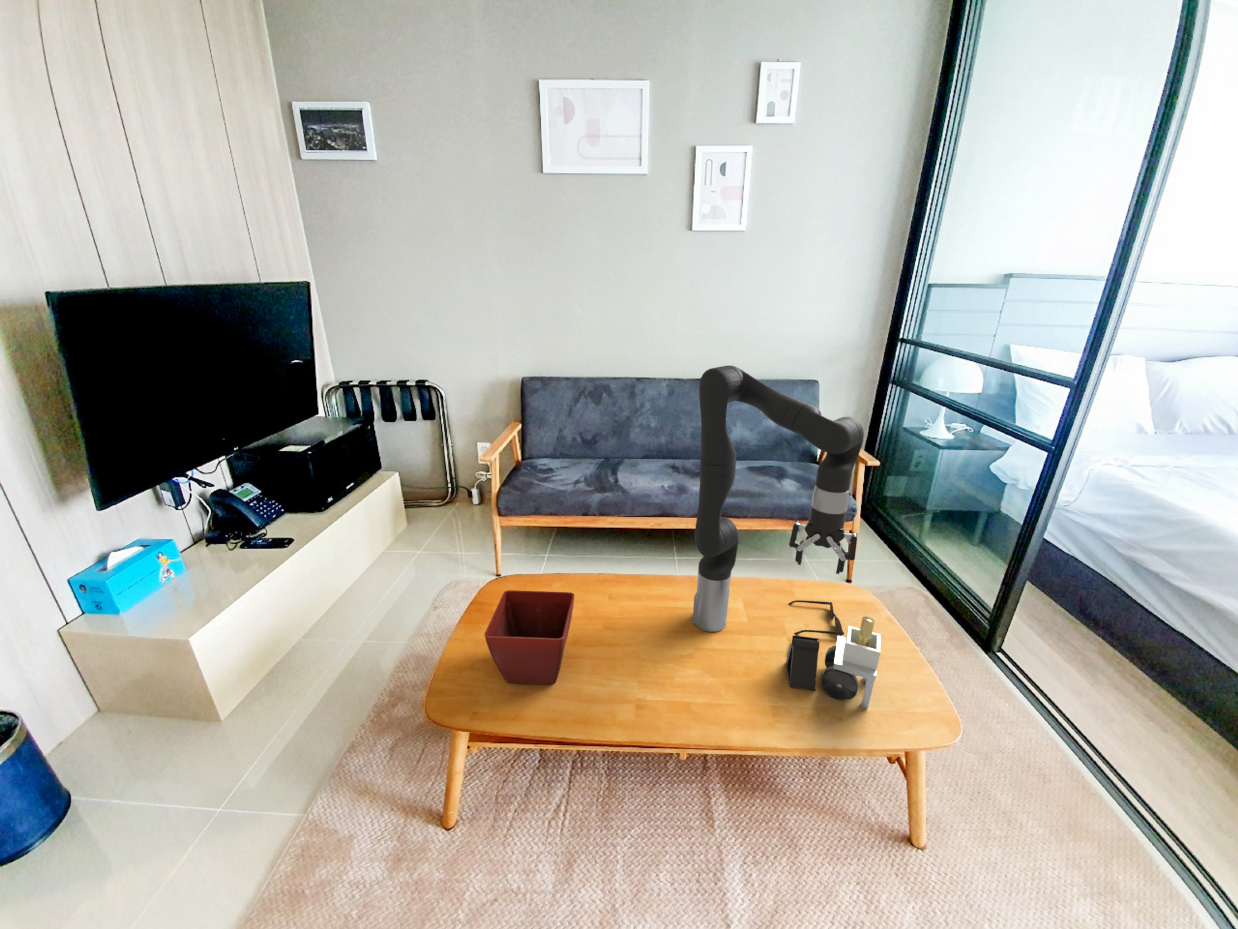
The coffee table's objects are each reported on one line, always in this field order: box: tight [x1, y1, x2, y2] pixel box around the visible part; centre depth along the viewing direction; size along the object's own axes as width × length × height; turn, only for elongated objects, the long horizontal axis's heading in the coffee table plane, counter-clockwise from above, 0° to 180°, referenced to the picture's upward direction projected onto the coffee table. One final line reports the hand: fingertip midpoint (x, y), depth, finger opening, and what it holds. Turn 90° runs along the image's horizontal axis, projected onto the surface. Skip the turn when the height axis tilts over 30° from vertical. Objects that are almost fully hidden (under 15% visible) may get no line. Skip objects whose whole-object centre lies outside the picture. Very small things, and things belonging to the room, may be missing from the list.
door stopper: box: [785, 634, 820, 692], centre depth 128 cm, size 9×6×12 cm, turn 169°
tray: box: [843, 625, 882, 671], centre depth 122 cm, size 7×7×5 cm
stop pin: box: [857, 615, 875, 647], centre depth 120 cm, size 3×3×10 cm
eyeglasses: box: [787, 599, 845, 637], centre depth 150 cm, size 15×15×5 cm
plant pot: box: [484, 589, 575, 685], centre depth 130 cm, size 19×19×17 cm
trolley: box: [820, 635, 877, 710], centre depth 125 cm, size 11×11×10 cm
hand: (818, 567), depth 119 cm, fingers open, 8 cm apart
